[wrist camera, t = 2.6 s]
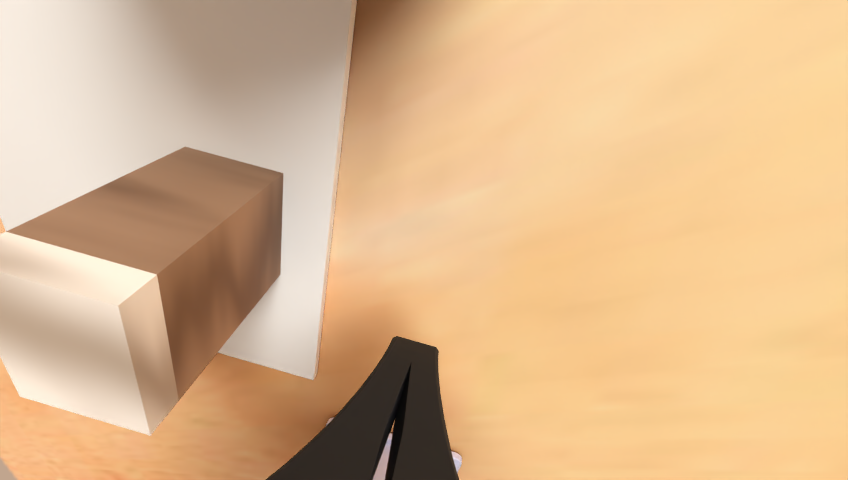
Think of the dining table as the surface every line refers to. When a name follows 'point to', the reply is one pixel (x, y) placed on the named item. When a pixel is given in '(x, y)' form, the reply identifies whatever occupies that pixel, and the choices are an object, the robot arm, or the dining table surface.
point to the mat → (186, 122)
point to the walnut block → (137, 285)
